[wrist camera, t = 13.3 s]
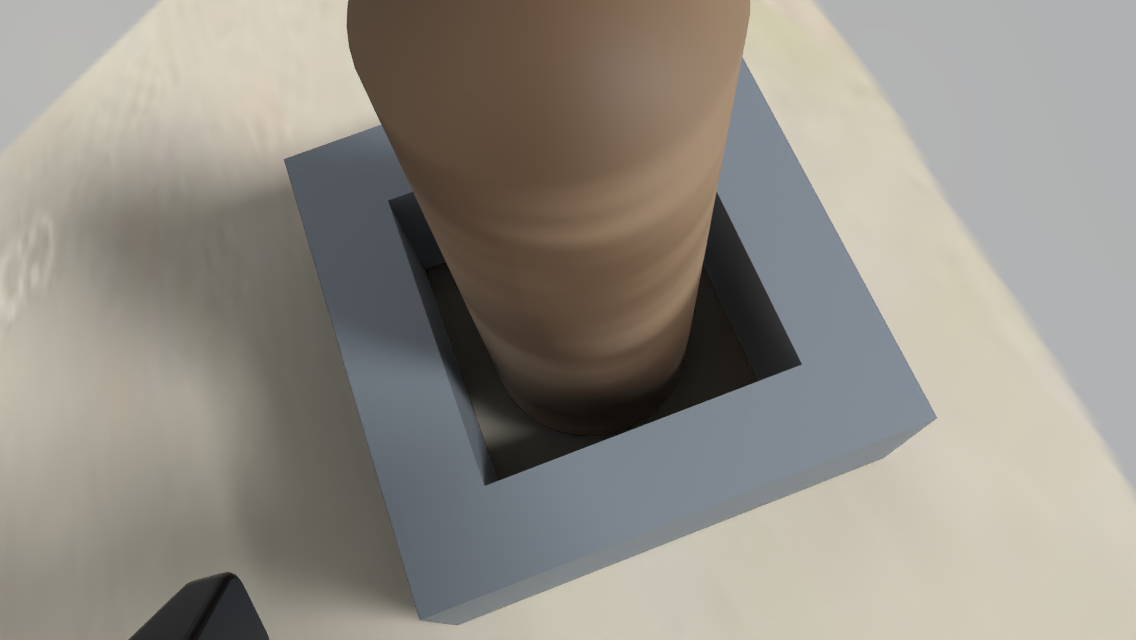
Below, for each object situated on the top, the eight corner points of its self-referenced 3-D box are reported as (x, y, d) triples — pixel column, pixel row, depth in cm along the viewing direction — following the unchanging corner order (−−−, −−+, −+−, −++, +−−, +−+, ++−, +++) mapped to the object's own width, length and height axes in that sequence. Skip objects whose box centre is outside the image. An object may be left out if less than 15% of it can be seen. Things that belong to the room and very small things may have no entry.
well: (336, 233, 25) (283, 159, 21) (702, 101, 25) (715, 7, 22) (457, 625, 21) (419, 620, 17) (883, 457, 22) (937, 417, 18)
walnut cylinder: (669, 242, 24) (712, -178, 12) (701, 422, 22) (788, 144, 10) (486, 267, 24) (341, -125, 12) (502, 448, 22) (352, 203, 10)
